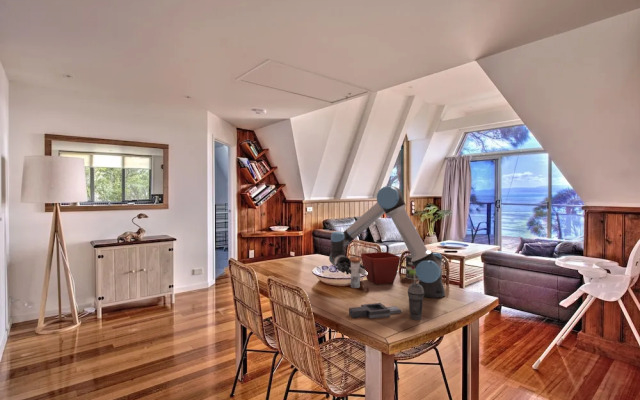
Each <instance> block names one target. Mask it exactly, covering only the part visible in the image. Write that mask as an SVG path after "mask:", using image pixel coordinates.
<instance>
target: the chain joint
mask: <svg viewBox="0 0 640 400" xmlns="http://www.w3.org/2000/svg"><path fill="white" fill-rule="evenodd" d="M401 313H402V308H401V309H400V308H399V307H398V306H395V305H394V306H386V305H384V304H383V303H381V302H377V303H375V302H374V303H365V304H361V305H360V306H357V307H356V306H355V307H354V306H353V307H349V308H348V315H349V316H350V317H351V318H352V319H359V318H369V319H378V318H379V319H380V318H388V317H389V318H390V317H391V315H394V314H401Z"/></svg>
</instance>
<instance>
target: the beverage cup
mask: <svg viewBox="0 0 640 400" xmlns="http://www.w3.org/2000/svg"><path fill="white" fill-rule="evenodd" d="M407 296H408V304H409V305H408V306H409V307H408V308H409V315H410V319H411V320H414V321H420V320H422V313H423V303H424V298H425V297H424V289H423V287H422V286H421V285H420V284H418V283H417V282H416V280H415V273H414V280H413V283H411V284H410V285H409V286H408V288H407Z"/></svg>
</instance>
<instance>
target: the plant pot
mask: <svg viewBox="0 0 640 400" xmlns="http://www.w3.org/2000/svg"><path fill="white" fill-rule="evenodd" d="M360 258H361V262H362V265H363V266H364V269H365V270H366V271H367V272H368V275H367V276H366V275H365V277H366V280H367V281H369V282H370V283H372V284H373V285H385V284H386V285H387V284H394V282H395V280H396V277H397V273H398V271H399V266H400V261H401V256H400V255H396V254H393V253H391V252H389V251H384V252H383V251H382V252H365V253H364V252H362V253H360Z"/></svg>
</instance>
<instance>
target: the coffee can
mask: <svg viewBox="0 0 640 400" xmlns="http://www.w3.org/2000/svg"><path fill="white" fill-rule="evenodd" d="M411 260H412V256H411V254H409V255H408V254H407V255H405V278H406V279H408V280H413V281H414V273H415V281H417V280H418V281H419V280H420V279H419V278H418V277H417V275H416V269H415V267H414V266H413V264H412V262H411Z"/></svg>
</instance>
